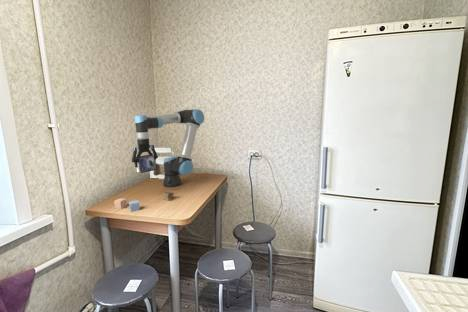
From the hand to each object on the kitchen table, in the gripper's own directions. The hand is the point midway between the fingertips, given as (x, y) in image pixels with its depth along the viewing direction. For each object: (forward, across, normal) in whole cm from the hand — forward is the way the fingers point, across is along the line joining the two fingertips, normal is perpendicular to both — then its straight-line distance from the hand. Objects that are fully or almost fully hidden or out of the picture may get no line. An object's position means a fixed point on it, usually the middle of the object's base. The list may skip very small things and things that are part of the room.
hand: (146, 170), depth 169 cm
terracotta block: (+20, +20, +1) cm, 29 cm away
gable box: (+22, -39, -45) cm, 64 cm away
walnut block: (+21, -8, +13) cm, 25 cm away
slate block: (+20, +16, +12) cm, 29 cm away
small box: (+1, 0, 0) cm, 1 cm away
